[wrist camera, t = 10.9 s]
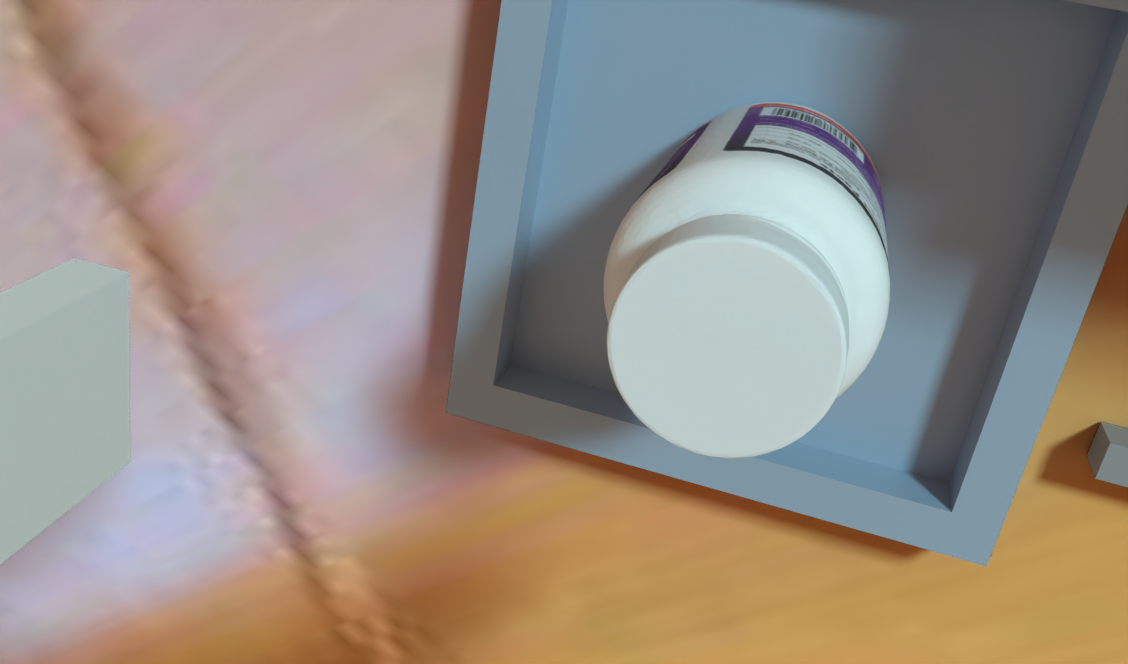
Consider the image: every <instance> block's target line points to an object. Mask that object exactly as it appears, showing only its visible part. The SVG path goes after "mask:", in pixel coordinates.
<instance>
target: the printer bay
mask: <svg viewBox="0 0 1128 664" xmlns="http://www.w3.org/2000/svg"><path fill="white" fill-rule="evenodd" d="M1087 459H1088V461H1089V464H1090V467H1091V469H1092V472H1093V474H1094V477H1095V479H1098V480H1102V481H1105V482H1109V483H1113V484H1117V485H1121V486H1124V487H1128V428H1124V427H1120V426H1116V425H1112V424H1108V423H1104V422H1101V423H1100V425H1099V428H1098V430H1097V432H1096V435H1095V437H1094V440H1093V442H1092V444H1091V447H1090V449H1089V452H1088V454H1087Z"/></svg>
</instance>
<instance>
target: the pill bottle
mask: <svg viewBox="0 0 1128 664" xmlns="http://www.w3.org/2000/svg"><path fill="white" fill-rule="evenodd" d="M889 301H890V272H889V261H888V249H887V237H886V220H885V207H884V198H883V193H882V188H881V184H880V181H879V177H878V174H877V172H876V169H875V167H874V165H873V162H872V160H871V158H870V157H869V155H868V154H867V152H866V150H865V149H864V148H863V146H862V145H861V144H860V142H859V141H858V140H857V139H856V138H855V137H854V136H853V135H852V134H851V133H850V132H849V131H848V130H847V129H846V128H845V127H844V126H842V125H841V124H839V123H838V122H837V121H835V120H834V119H832V118H830V117H829V116H827V115H825V114H824V113H821V112H819V111H817V110H814V109H812V108H809V107H806V106H803V105H798V104H793V103H786V102H760V103H753V104H747V105H743V106H740V107H737V108H733V109H731V110H729V111H726V112H724V113H722V114H720V115H718V116H716V117H715V118H713V119H711V120H710V121H709V122H707V123H706V124H704V125H703V126H702V127H700V128H699V129H697V130H696V131H695V132H694V133H692V134H691V135H690V136H689V137H688V138H687V139H686V140H685V141H684V142H683V143H682V145H681V146H680V147H679V148H678V150H677V151H676V152H675V153H674V155H673V156H672V157H671V159H670V160H669V161H668V162H667V164H666V165H665V166H664V167H663V168H662V170H661V171H660V172H659V173H658V175H657V176H656V177H655V178H654V179H653V181H652V182H651V183H650V184H649V185H648V187H647V188H646V189H645V190H644V192H643V193H642V194H641V195H640V196H639V197H638V198H637V200H636V201H635V202H634V203H633V205H632V206H631V208H630V209H629V211H628V212H627V213H626V215H625V217H624V218H623V220H622V221H621V223H620V226H619V228H618V230H617V231H616V234H615V236H614V239H613V241H612V243H611V246H610V249H609V253H608V256H607V261H606V267H605V273H604V304H605V310H606V315H607V320H608V329H607V354H608V361H609V366H610V370H611V373H612V376H613V379H614V382H615V384H616V387H617V389H618V391H619V392H620V394H621V396H622V398H623V400H624V401H625V402H626V404H627V405H628V406H629V408H630V409H631V410H632V412H633V413H634V414H635V415H636V417H637V418H638V419H639V420H640V421H641V422H642V423H643V424H645V425H646V426H647V427H648V428H649V429H650V430H652V431H653V432H654V433H655V434H657V435H658V436H660V437H662V438H663V439H665V440H666V441H668V442H670V443H672V444H674V445H676V446H678V447H680V448H683V449H685V450H688V451H691V452H694V453H697V454H701V455H705V456H710V457H721V458H743V457H753V456H758V455H762V454H766V453H769V452H772V451H775V450H778V449H781V448H783V447H785V446H787V445H789V444H791V443H793V442H794V441H796V440H797V439H799V438H801V437H803V436H804V435H805V434H806V433H808V432H809V431H810V430H811V429H812V428H813V427H814V426H815V425H816V424H817V423H818V422H819V421H820V420H821V419H822V418H823V417H824V416H825V414H826V413H827V412H828V410H829V409H830V407H831V406H832V404H833V403H834V401H835V399H836V398H837V397H839V396H840V395H841V394H842V393H843V392H844V391H845V390H847V389H848V388H849V387H850V386H851V385H852V384H853V383H854V382H855V381H856V379H857V378H858V377H859V376H860V375H861V373H862V372H863V371H864V370H865V368H866V367H867V365H868V364H869V362H870V360H871V359H872V357H873V355H874V353H875V351H876V349H877V347H878V345H879V342H880V340H881V337H882V334H883V331H884V328H885V325H886V321H887V316H888V309H889Z"/></svg>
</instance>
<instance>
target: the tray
mask: <svg viewBox="0 0 1128 664" xmlns="http://www.w3.org/2000/svg"><path fill="white" fill-rule="evenodd" d="M760 102H786V103H793V104H798V105H803V106H806V107H809V108H812V109H814V110H817V111H819V112H821V113H824V114H825V115H827V116H829V117H830V118H832V119H834V120H835V121H837V122H838V123H839V124H841V125H842V126H844V127H845V128H846V129H847V130H848V131H849V132H850V133H851V134H852V135H853V136H854V137H855V138H856V139H857V140H858V141H859V142H860V144H861V145H862V146H863V148H864V149H865V150H866V152H867V154H868V155H869V157H870V158H871V160H872V162H873V165H874V167H875V169H876V172H877V174H878V177H879V181H880V184H881V188H882V193H883V198H884V207H885V220H886V237H887V249H888V261H889V272H890V301H889V309H888V316H887V321H886V325H885V328H884V331H883V334H882V337H881V340H880V342H879V345H878V347H877V349H876V351H875V353H874V355H873V357H872V359H871V360H870V362H869V364H868V365H867V367H866V368H865V370H864V371H863V372H862V373H861V375H860V376H859V377H858V378H857V379H856V381H855V382H854V383H853V384H852V385H851V386H850V387H849V388H848V389H847V390H845V391H844V392H843V393H842V394H841V395H840V396H839V397H837V398H836V399H835V401H834V403H833V404H832V406H831V407H830V409H829V410H828V412H827V413H826V414H825V416H824V417H823V418H822V419H821V420H820V421H819V422H818V423H817V424H816V425H815V426H814V427H813V428H812V429H811V430H810V431H809V432H808V433H806V434H805V435H804V436H803V437H801V438H799V439H797V440H796V441H794V442H793V443H791V444H789V445H787V446H785V447H783V448H781V449H778V450H775V451H772V452H769V453H766V454H762V455H758V456H753V457H743V458H721V457H710V456H705V455H701V454H697V453H694V452H691V451H688V450H685V449H683V448H680V447H678V446H676V445H674V444H672V443H670V442H668V441H666V440H665V439H663V438H662V437H660V436H658V435H657V434H655V433H654V432H653V431H652V430H650V429H649V428H648V427H647V426H646V425H645V424H643V423H642V422H641V421H640V420H639V419H638V418H637V417H636V415H635V414H634V413H633V412H632V410H631V409H630V408H629V406H628V405H627V404H626V402H625V401H624V400H623V398H622V396H621V394H620V392H619V391H618V389H617V387H616V384H615V382H614V379H613V376H612V373H611V370H610V366H609V361H608V354H607V329H608V320H607V315H606V310H605V304H604V273H605V267H606V261H607V256H608V253H609V249H610V246H611V243H612V241H613V239H614V236H615V234H616V231H617V230H618V228H619V226H620V223H621V221H622V220H623V218H624V217H625V215H626V213H627V212H628V211H629V209H630V208H631V206H632V205H633V203H634V202H635V201H636V200H637V198H638V197H639V196H640V195H641V194H642V193H643V192H644V190H645V189H646V188H647V187H648V185H649V184H650V183H651V182H652V181H653V179H654V178H655V177H656V176H657V175H658V173H659V172H660V171H661V170H662V168H663V167H664V166H665V165H666V164H667V162H668V161H669V160H670V159H671V157H672V156H673V155H674V153H675V152H676V151H677V150H678V148H679V147H680V146H681V145H682V143H683V142H684V141H685V140H686V139H687V138H688V137H689V136H690V135H691V134H692V133H694V132H695V131H696V130H697V129H699V128H700V127H702V126H703V125H704V124H706V123H707V122H709V121H710V120H711V119H713V118H715V117H716V116H718V115H720V114H722V113H724V112H726V111H729V110H731V109H733V108H737V107H740V106H743V105H747V104H753V103H760ZM1127 205H1128V0H502V1H501V8H500V16H499V23H498V30H497V38H496V45H495V53H494V60H493V67H492V75H491V82H490V89H489V97H488V104H487V112H486V119H485V126H484V134H483V141H482V148H481V156H480V163H479V171H478V178H477V185H476V193H475V200H474V207H473V215H472V222H471V229H470V237H469V244H468V252H467V259H466V266H465V274H464V281H463V288H462V296H461V303H460V311H459V318H458V325H457V333H456V340H455V347H454V355H453V362H452V369H451V377H450V384H449V392H448V399H447V406H446V413H448V414H452V415H455V416H459V417H462V418H466V419H469V420H473V421H476V422H480V423H483V424H487V425H490V426H494V427H497V428H501V429H505V430H508V431H512V432H515V433H519V434H522V435H526V436H529V437H533V438H536V439H540V440H543V441H547V442H550V443H554V444H557V445H561V446H564V447H568V448H571V449H575V450H578V451H582V452H585V453H589V454H593V455H596V456H600V457H603V458H607V459H610V460H614V461H617V462H621V463H624V464H628V465H631V466H635V467H638V468H642V469H645V470H649V471H652V472H656V473H659V474H663V475H666V476H670V477H673V478H677V479H680V480H684V481H688V482H691V483H695V484H698V485H702V486H705V487H709V488H712V489H716V490H719V491H723V492H726V493H730V494H733V495H737V496H740V497H744V498H747V499H751V500H754V501H758V502H761V503H765V504H768V505H772V506H776V507H779V508H783V509H786V510H790V511H793V512H797V513H800V514H804V515H807V516H811V517H814V518H818V519H821V520H825V521H828V522H832V523H835V524H839V525H842V526H846V527H849V528H853V529H856V530H860V531H864V532H867V533H871V534H874V535H878V536H881V537H885V538H888V539H892V540H895V541H899V542H902V543H906V544H909V545H913V546H916V547H920V548H923V549H927V550H930V551H934V552H937V553H941V554H944V555H948V556H952V557H955V558H959V559H962V560H966V561H969V562H973V563H976V564H980V565H983V566H987V563H988V561H989V558H990V556H991V553H992V551H993V548H994V546H995V543H996V540H997V538H998V535H999V533H1000V530H1001V528H1002V525H1003V522H1004V520H1005V517H1006V515H1007V512H1008V510H1009V507H1010V505H1011V502H1012V499H1013V497H1014V494H1015V492H1016V489H1017V487H1018V484H1019V481H1020V479H1021V476H1022V474H1023V471H1024V469H1025V466H1026V464H1027V461H1028V458H1029V456H1030V453H1031V451H1032V448H1033V446H1034V443H1035V440H1036V438H1037V435H1038V433H1039V430H1040V428H1041V425H1042V423H1043V420H1044V417H1045V415H1046V412H1047V410H1048V407H1049V405H1050V402H1051V400H1052V397H1053V394H1054V392H1055V389H1056V387H1057V384H1058V382H1059V379H1060V376H1061V374H1062V371H1063V369H1064V366H1065V364H1066V361H1067V359H1068V356H1069V353H1070V351H1071V348H1072V346H1073V343H1074V341H1075V338H1076V335H1077V333H1078V330H1079V328H1080V325H1081V323H1082V320H1083V318H1084V315H1085V312H1086V310H1087V307H1088V305H1089V302H1090V300H1091V297H1092V294H1093V292H1094V289H1095V287H1096V284H1097V282H1098V279H1099V277H1100V274H1101V271H1102V269H1103V266H1104V264H1105V261H1106V259H1107V256H1108V253H1109V251H1110V248H1111V246H1112V243H1113V241H1114V238H1115V236H1116V233H1117V230H1118V228H1119V225H1120V223H1121V220H1122V218H1123V215H1124V212H1125V210H1126V207H1127Z"/></svg>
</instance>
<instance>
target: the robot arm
mask: <svg viewBox="0 0 1128 664" xmlns="http://www.w3.org/2000/svg"><path fill="white" fill-rule="evenodd" d="M129 462H130V334H129V272H126V271H122V270H118V269H114V268H110V267H107V266H103V265H99V264H95V263H91V262H87V261H83V260H80V259H76V258H73V259H71V260H69V261H67V262H65V263H63V264H61V265H58V266H56V267H54V268H52V269H50V270H48V271H46V272H44V273H41V274H39V275H37V276H35V277H33V278H31V279H29V280H27V281H24V282H22V283H20V284H18V285H16V286H14V287H12V288H10V289H7V290H5V291H3V292H1V293H0V564H1V563H3V562H4V561H5V560H7V559H8V558H9V557H10V556H12V555H13V554H14V553H15V552H17V551H18V550H19V549H20V548H22V547H23V546H24V545H26V544H27V543H28V542H29V541H31V540H32V539H33V538H34V537H36V536H37V535H38V534H39V533H41V532H42V531H43V530H45V529H46V528H47V527H48V526H50V525H51V524H52V523H53V522H55V521H56V520H57V519H58V518H60V517H61V516H62V515H64V514H65V513H66V512H67V511H69V510H70V509H71V508H72V507H74V506H75V505H76V504H77V503H79V502H80V501H81V500H82V499H84V498H85V497H86V496H88V495H89V494H90V493H91V492H93V491H94V490H95V489H96V488H98V487H99V486H100V485H101V484H103V483H104V482H105V481H107V480H108V479H109V478H110V477H112V476H113V475H114V474H115V473H117V472H118V471H119V470H120V469H122V468H123V467H124V466H126V465H127V464H128V463H129Z"/></svg>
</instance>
